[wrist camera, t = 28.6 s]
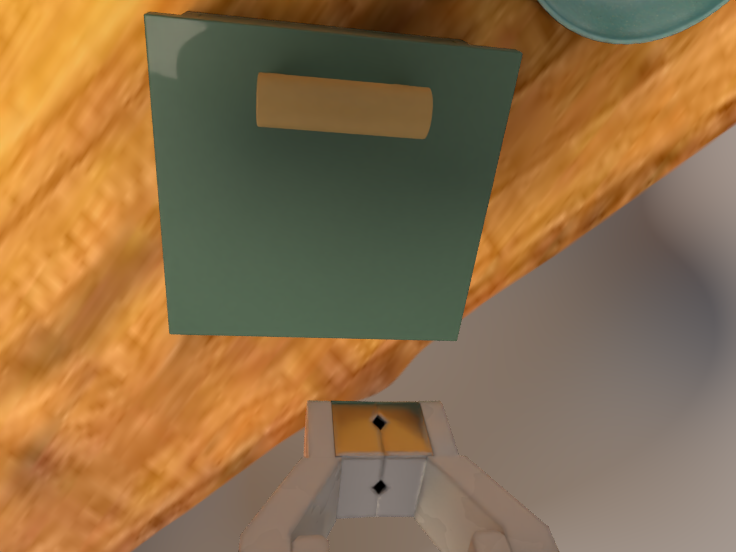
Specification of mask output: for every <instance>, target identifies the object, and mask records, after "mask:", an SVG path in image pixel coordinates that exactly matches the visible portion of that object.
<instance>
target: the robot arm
mask: <svg viewBox="0 0 736 552" xmlns="http://www.w3.org/2000/svg"><path fill="white" fill-rule="evenodd" d="M304 438H305V439H304V458H301V459H300V460H299V461H298V463H297V464H296V465H295V466H294V468H293V469H292V470H291V472H290V473H289V474H288V475H287V477H286V478H285V479H284V480H283V482H282V483H281V484H280V485H279V487H278V488H277V489H276V491H275V492H274V493H273V494H272V496H271V497H270V498H269V499H268V501H267V502H266V503H265V504H264V506H263V507H262V508H261V510H260V511H259V512H258V513H257V514H256V516H255V517H254V518H253V520H252V521H251V522H250V523H249V525H248V526H247V527H246V528H245V530H244V531H243V532H242V534H241V535H240V543H239V551H238V552H329V540H327V539H326V538H327V536H328V535H329V533H330V531H331V529H332V527H333V526H334V523H335V522H336V519H340V518H357V517H358V518H359V517H414V519H415V520H416V522H417V523H418V524H419V526H420V527H421V528H422V529H423V530H424V532H425V533H426V534H427V536H428V537H429V538H430V539H431V540H432V542H433V543H434V544H435V546H436V547H437V548H438V549H439V551H440V552H559V550H558V548H557V546H556V543H555V541H554V538H553V537H552V534H551V531H550V529H549V527H548V526H547V525H546V524H544V523H543V522H542V521H541V520H540V519H539V518H537V517H536V516H535V515H534V514H533V513H532V512H531V511H529V510H528V509H527V508H526V507H525V506H523V505H522V504H521V503H520V502H519V501H518V500H517V499H515V498H514V497H513V496H512V495H511V494H510V493H508V492H507V491H506V490H505V489H504V488H502V487H501V486H500V485H499V484H498V483H497V482H496V481H494V480H493V479H492V478H491V477H490V476H488V475H487V474H486V473H485V472H484V471H483V470H482V469H480V468H479V467H478V466H477V465H476V464H474V463H473V462H472V461H471V460H470V459H469V458H468V457H466V456H459V453H458V450H457V447H456V445H455V441H454V438H453V435H452V432H451V429H450V426H449V423H448V419H447V416H446V413H445V410H444V407H443V404H442V403H441V402H440V401H418V402H361V401H331V402H330V401H307V408H306V423H305V437H304Z"/></svg>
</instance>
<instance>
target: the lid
mask: <svg viewBox="0 0 736 552" xmlns="http://www.w3.org/2000/svg"><path fill="white" fill-rule="evenodd" d="M144 23H145V35H146V48H147V60H148V73H149V85H150V98H151V110H152V123H153V135H154V148H155V160H156V172H157V185H158V197H159V210H160V222H161V235H162V247H163V260H164V272H165V285H166V297H167V309H168V322H169V333H170V334H181V335H224V336H266V337H309V338H352V339H394V340H437V341H457V338H458V334H459V329H460V325H461V321H462V316H463V312H464V308H465V303H466V299H467V295H468V290H469V286H470V281H471V277H472V273H473V268H474V264H475V260H476V255H477V251H478V247H479V242H480V238H481V233H482V229H483V225H484V220H485V216H486V212H487V207H488V203H489V199H490V194H491V190H492V186H493V181H494V177H495V172H496V168H497V164H498V159H499V155H500V151H501V146H502V142H503V138H504V133H505V129H506V124H507V120H508V116H509V111H510V107H511V103H512V98H513V94H514V90H515V85H516V81H517V77H518V72H519V68H520V63H521V59H522V55H523V54H522V52H520V51H518V50H516V49H506V48H497V47H487V46H477V45H468V44H458V43H448V42H439V41H429V40H419V39H409V38H400V37H390V36H380V35H371V34H361V33H351V32H342V31H332V30H322V29H312V28H303V27H293V26H283V25H274V24H264V23H254V22H245V21H235V20H225V19H216V18H206V17H196V16H186V15H177V14H167V13H157V12H148V13H146V14H144Z"/></svg>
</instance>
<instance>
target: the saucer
mask: <svg viewBox="0 0 736 552" xmlns="http://www.w3.org/2000/svg"><path fill="white" fill-rule="evenodd" d="M537 1H538V2H539V3H540V5H541V6H542V7H543V8H544V9H545V10H546V11H547V12H548V13H549V14H550V15H551V16H552V17H553V18H554V19H555V20H556V21H558V22H559V23H560V24H562V25H563V26H565V27H566V28H568V29H569V30H571V31H573V32H575V33H577V34H579V35H581V36H583V37H586V38H589V39H592V40H595V41H599V42H605V43H612V44H635V43H639V44H640V43H645V42H650V41H654V40H658V39H663V38H666V37H668V36H672V35H674V34H676V33H679V32H681V31H683V30H685V29H688V28H689V27H691V26H693V25H695V24H697V23H699V22H701V21H702V20H704V19H705V18H707V17H708V16H710V15H711V14H712V13H714V12H716V11H717V10H718V9H720V8H721V7H722V6H723V5H725V4H726V3H727V2H728V1H729V0H537Z"/></svg>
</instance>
